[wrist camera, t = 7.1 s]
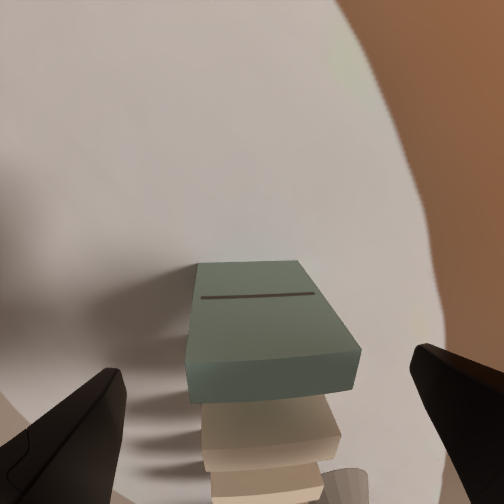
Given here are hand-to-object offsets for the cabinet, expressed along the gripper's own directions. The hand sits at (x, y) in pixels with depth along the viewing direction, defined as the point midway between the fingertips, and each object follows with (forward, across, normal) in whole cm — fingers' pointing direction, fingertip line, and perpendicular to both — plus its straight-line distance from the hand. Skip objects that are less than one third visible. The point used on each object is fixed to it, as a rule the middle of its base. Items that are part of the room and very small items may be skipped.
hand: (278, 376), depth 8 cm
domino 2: (+8, 0, +4) cm, 9 cm away
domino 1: (+8, 0, 0) cm, 8 cm away
